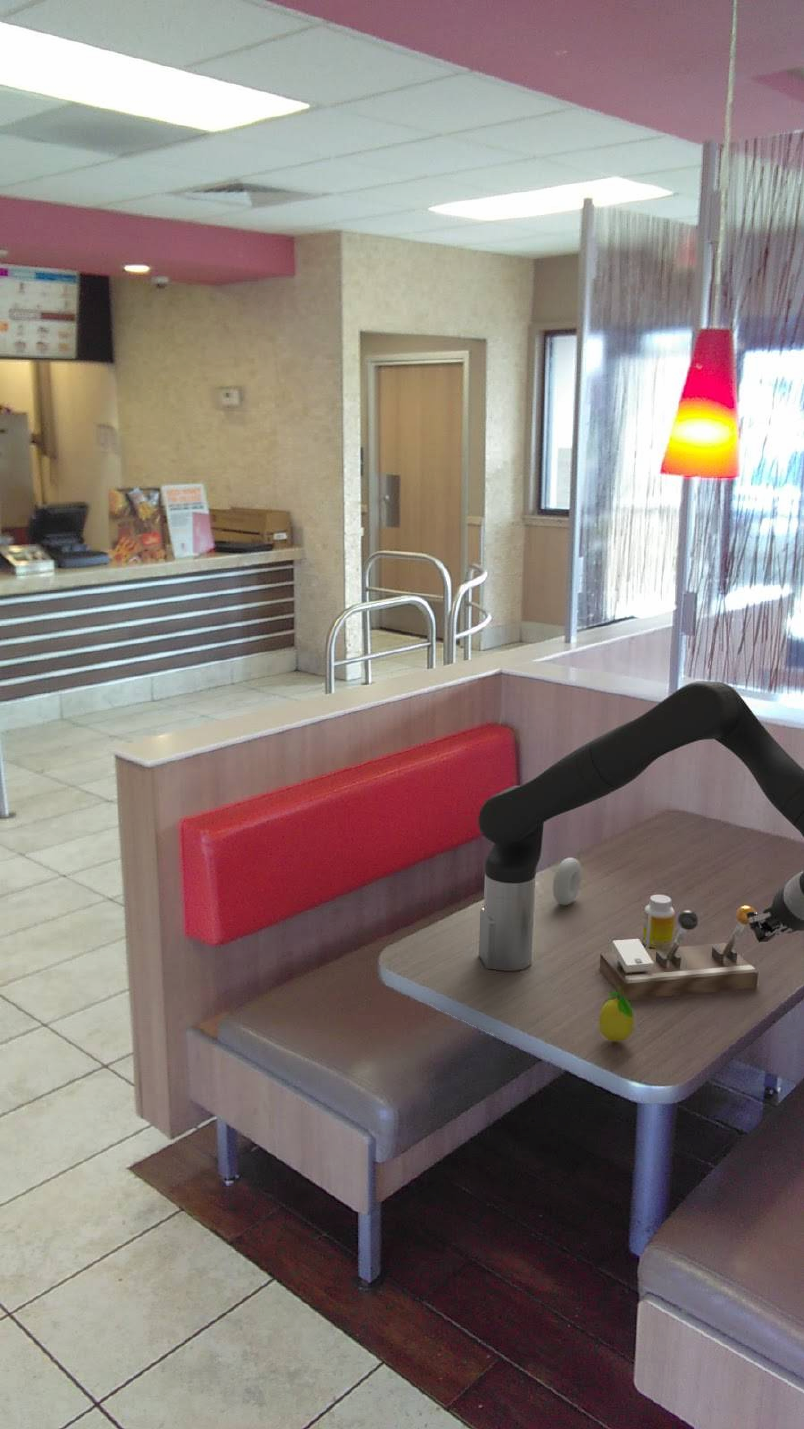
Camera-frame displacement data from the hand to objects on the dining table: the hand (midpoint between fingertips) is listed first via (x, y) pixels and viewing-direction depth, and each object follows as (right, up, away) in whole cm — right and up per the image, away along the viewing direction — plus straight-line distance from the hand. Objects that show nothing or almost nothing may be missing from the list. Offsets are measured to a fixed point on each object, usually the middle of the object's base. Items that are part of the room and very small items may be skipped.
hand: (760, 936), depth 191 cm
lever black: (-13, -7, +11) cm, 18 cm away
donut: (-27, -2, +44) cm, 51 cm away
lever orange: (-2, -6, +13) cm, 15 cm away
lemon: (-27, -15, -10) cm, 32 cm away
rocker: (-20, -5, +9) cm, 23 cm away
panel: (-11, -10, +12) cm, 19 cm away
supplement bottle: (-12, -7, +24) cm, 28 cm away
